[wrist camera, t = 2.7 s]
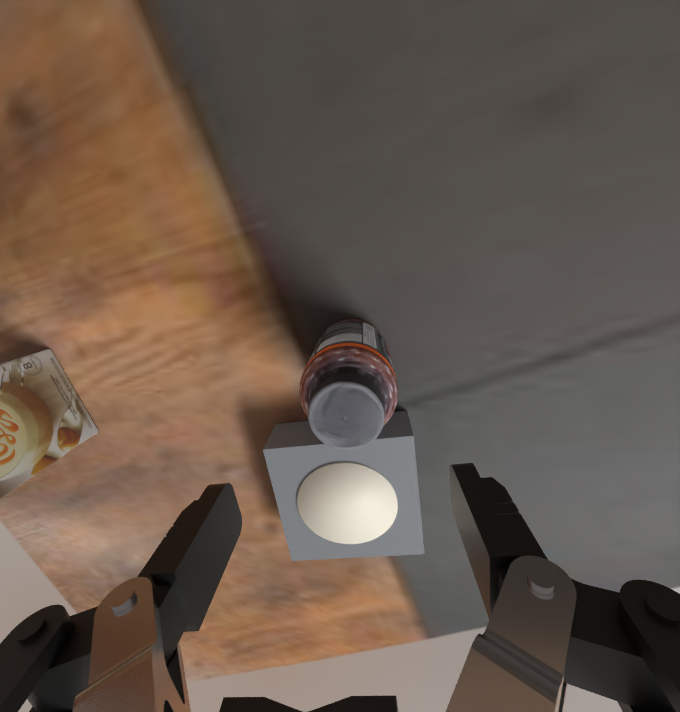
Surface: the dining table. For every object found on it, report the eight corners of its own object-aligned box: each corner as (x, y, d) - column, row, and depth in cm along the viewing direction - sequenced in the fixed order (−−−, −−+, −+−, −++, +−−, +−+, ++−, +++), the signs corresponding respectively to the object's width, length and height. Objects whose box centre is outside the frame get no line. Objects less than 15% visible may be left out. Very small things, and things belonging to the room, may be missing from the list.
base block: (275, 423, 30) (262, 451, 26) (406, 410, 29) (413, 437, 25) (299, 525, 34) (291, 562, 30) (417, 517, 32) (424, 555, 28)
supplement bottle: (387, 384, 28) (402, 471, 17) (318, 384, 28) (291, 467, 18) (389, 316, 26) (407, 365, 15) (315, 316, 26) (283, 365, 16)
